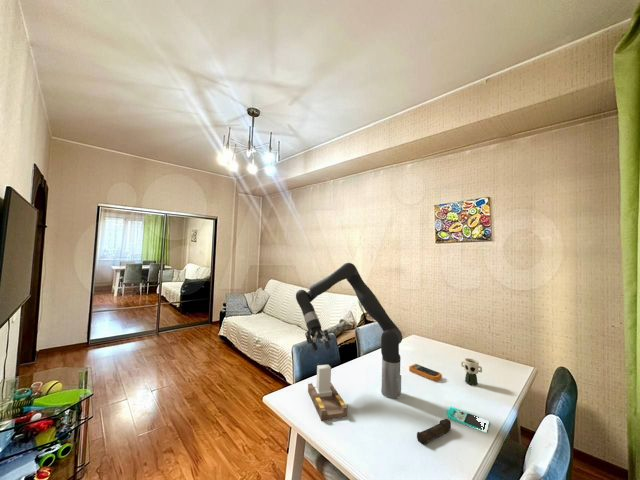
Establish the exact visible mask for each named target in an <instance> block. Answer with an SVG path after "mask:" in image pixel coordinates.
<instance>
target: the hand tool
mask: <svg viewBox="0 0 640 480" xmlns="http://www.w3.org/2000/svg"><path fill="white" fill-rule="evenodd" d="M451 428H452V423H451V419H449V418H444V419H441V420H440V421H439V423H437V424H436V425H433V426H431V427H429V428H426V429H424V430H422V431H417V433H416V438H417V441H418V443H420V444H421V445H423V446H425V445H426V444H428V443H429V442H430V441H432V440H434V439H437V438H438V437H440V436H441V435H444V434H445V435H447V434H448V433H449V432H450V431H451Z"/></svg>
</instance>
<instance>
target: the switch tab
mask: <svg viewBox="0 0 640 480" xmlns="http://www.w3.org/2000/svg"><path fill="white" fill-rule="evenodd" d="M331 376H332V367H331V366H330V365H329V364H319V365H317V366H316V386H314V387H315V390H316V392H317V394H318V396H319V397H326V396H332V391H331V389H330V386H331V383H332V382H331V381H332V379H331V378H332V377H331Z"/></svg>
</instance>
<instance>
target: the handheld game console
mask: <svg viewBox="0 0 640 480" xmlns="http://www.w3.org/2000/svg"><path fill="white" fill-rule="evenodd" d="M447 416H448V417H447ZM474 416H475V417H474ZM477 416H478V415H476V414H472V413H469V412H467V411H465V410H461V409H459V408H455V407H453V406H450V407H449V409H448V411H447V412H446V417H447V419H449V418H450V419H449V420H451V419H452V421H454V420H455V421H454V422H456V421H457V423H459V422H460V423H459V424H461V423H462V425H464V424H465V425H464V426H466V425H468V426H467V427H469V426H471V427H474V428H478V429H480V430H482V428H481V427H483V426H481V424H480V423H481V422H478V421H477V420H476V419H477V418H476V417H477ZM479 417H480V416H478V418H479ZM485 425H486V423H484V427H483V430H484V429H485ZM471 427H470V428H471ZM474 428H473V429H474Z"/></svg>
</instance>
